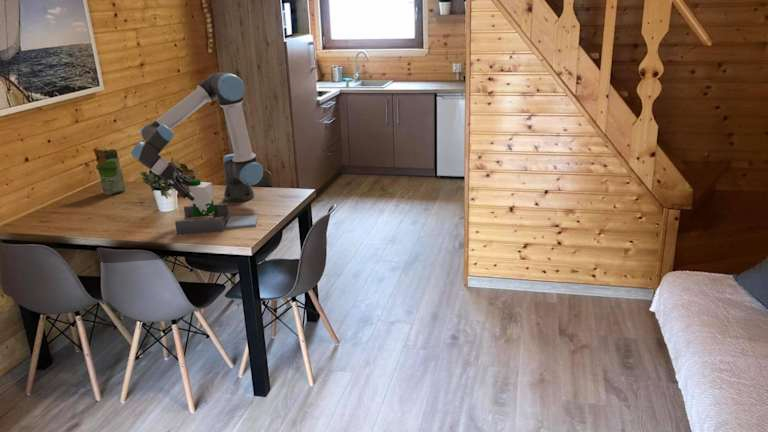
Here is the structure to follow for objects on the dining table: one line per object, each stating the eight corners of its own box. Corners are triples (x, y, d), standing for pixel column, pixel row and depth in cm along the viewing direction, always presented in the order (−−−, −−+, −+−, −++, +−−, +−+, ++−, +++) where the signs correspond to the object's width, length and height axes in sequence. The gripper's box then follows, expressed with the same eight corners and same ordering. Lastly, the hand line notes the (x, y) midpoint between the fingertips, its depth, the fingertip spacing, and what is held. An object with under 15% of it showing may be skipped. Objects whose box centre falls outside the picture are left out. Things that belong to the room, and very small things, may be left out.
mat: (229, 218, 296) (229, 216, 295) (258, 216, 297) (257, 214, 296) (226, 228, 283) (226, 226, 283) (255, 226, 285) (255, 224, 284)
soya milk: (200, 218, 298) (195, 177, 292) (218, 218, 296) (213, 177, 290) (191, 224, 290) (185, 182, 283) (210, 225, 288) (204, 183, 282)
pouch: (127, 193, 343) (119, 147, 334) (103, 197, 337) (95, 151, 328) (123, 188, 352) (115, 144, 343) (100, 192, 346) (91, 147, 337)
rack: (186, 218, 299) (184, 206, 297) (229, 215, 301) (227, 203, 299) (177, 234, 278) (175, 221, 276) (223, 231, 280) (221, 218, 278)
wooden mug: (180, 187, 349) (175, 155, 343) (202, 188, 346) (198, 156, 340) (171, 192, 341) (166, 160, 335) (194, 193, 338) (189, 160, 332)
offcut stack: (185, 227, 287) (183, 217, 285) (221, 224, 288) (220, 214, 287) (182, 232, 281) (181, 221, 280) (219, 229, 283) (218, 219, 281)
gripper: (164, 168, 295) (201, 197, 302) (152, 183, 272) (192, 213, 278) (174, 156, 294) (211, 185, 300) (162, 170, 271) (203, 201, 277)
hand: (202, 199), depth 289 cm, fingers open, 13 cm apart
